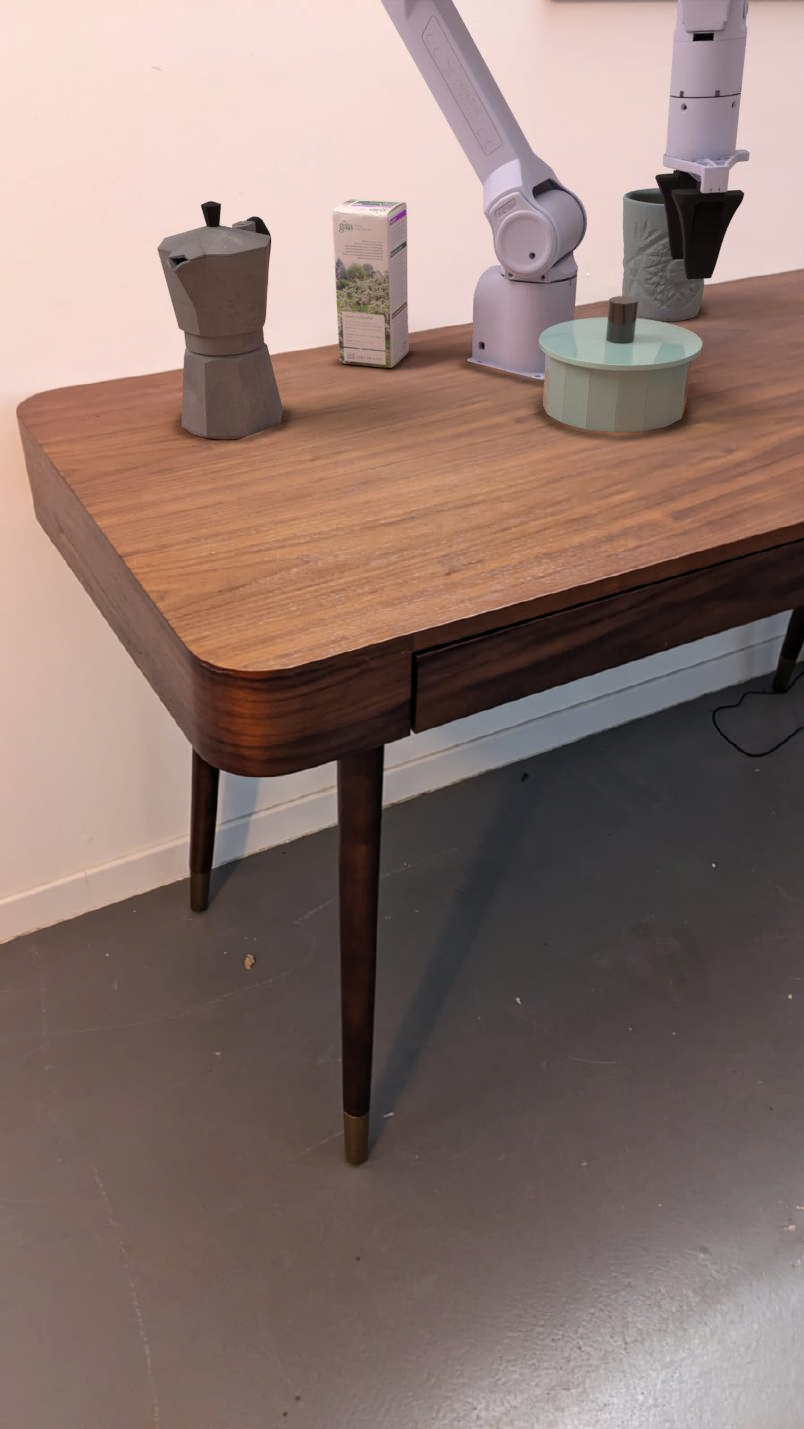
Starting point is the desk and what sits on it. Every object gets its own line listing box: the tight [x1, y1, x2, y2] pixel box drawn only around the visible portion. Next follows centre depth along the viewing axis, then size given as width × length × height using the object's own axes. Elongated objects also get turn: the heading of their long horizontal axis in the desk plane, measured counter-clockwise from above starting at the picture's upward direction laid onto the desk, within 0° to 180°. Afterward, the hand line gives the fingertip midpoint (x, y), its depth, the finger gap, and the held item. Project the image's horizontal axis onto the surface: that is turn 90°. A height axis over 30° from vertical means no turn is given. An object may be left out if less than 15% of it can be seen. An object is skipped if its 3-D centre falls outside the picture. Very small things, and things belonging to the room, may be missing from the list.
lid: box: [539, 295, 704, 371], centre depth 95 cm, size 14×14×4 cm
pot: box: [542, 354, 692, 433], centre depth 98 cm, size 12×12×6 cm
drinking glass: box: [621, 187, 705, 322], centre depth 123 cm, size 10×10×12 cm
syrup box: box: [331, 199, 410, 369], centre depth 109 cm, size 6×6×14 cm
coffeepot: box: [156, 200, 284, 440], centre depth 95 cm, size 15×9×18 cm, turn 158°
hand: (690, 268), depth 100 cm, fingers open, 7 cm apart
